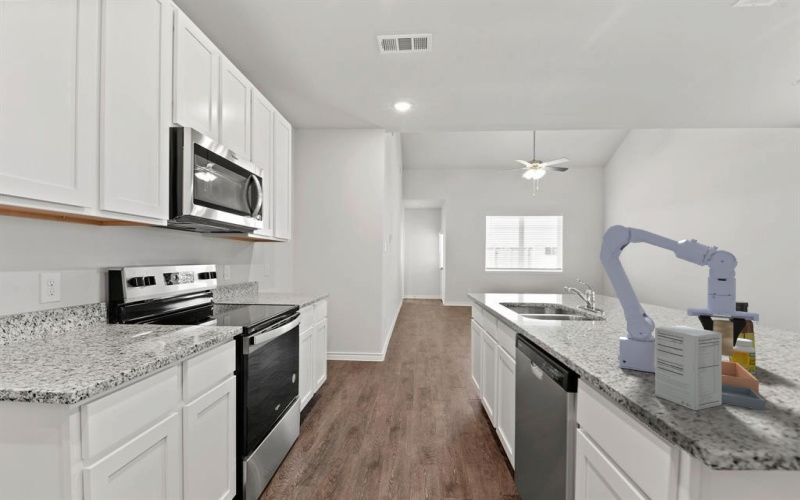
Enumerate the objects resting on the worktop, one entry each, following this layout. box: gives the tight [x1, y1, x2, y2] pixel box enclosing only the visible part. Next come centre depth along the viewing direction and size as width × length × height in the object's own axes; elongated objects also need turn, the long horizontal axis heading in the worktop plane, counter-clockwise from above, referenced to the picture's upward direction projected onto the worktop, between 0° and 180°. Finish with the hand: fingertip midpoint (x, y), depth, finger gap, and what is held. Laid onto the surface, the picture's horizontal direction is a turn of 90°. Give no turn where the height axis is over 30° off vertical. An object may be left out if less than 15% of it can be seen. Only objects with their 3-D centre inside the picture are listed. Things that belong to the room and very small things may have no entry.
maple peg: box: [712, 318, 733, 357], centre depth 97 cm, size 4×4×9 cm
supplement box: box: [654, 324, 723, 412], centre depth 85 cm, size 10×9×17 cm
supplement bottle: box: [731, 338, 757, 375], centre depth 106 cm, size 5×5×10 cm
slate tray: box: [722, 384, 766, 411], centre depth 85 cm, size 9×9×2 cm
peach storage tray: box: [722, 360, 760, 396], centre depth 97 cm, size 11×17×4 cm, turn 150°
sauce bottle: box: [728, 300, 756, 362], centre depth 113 cm, size 6×6×20 cm
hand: (721, 344), depth 97 cm, fingers closed on maple peg, 4 cm apart
